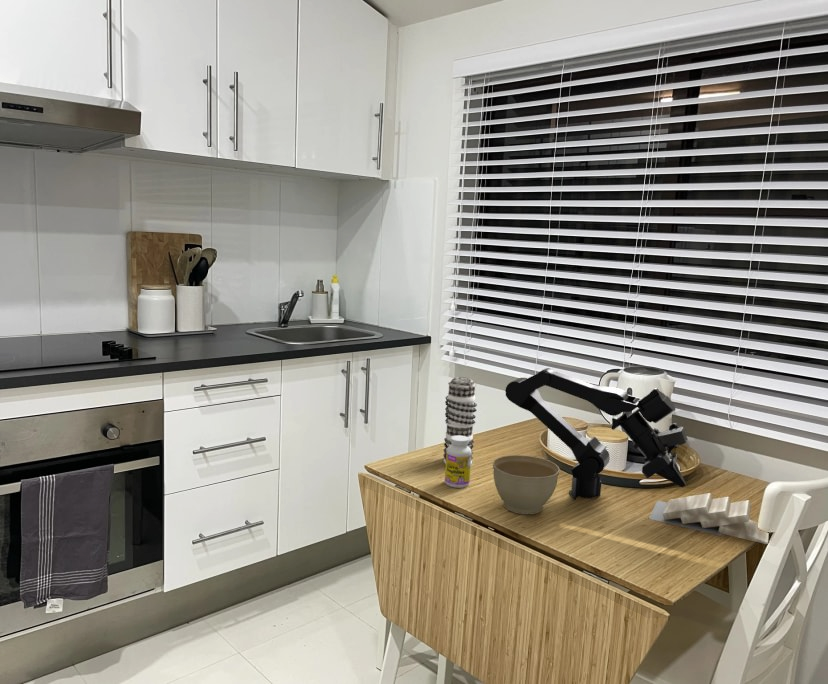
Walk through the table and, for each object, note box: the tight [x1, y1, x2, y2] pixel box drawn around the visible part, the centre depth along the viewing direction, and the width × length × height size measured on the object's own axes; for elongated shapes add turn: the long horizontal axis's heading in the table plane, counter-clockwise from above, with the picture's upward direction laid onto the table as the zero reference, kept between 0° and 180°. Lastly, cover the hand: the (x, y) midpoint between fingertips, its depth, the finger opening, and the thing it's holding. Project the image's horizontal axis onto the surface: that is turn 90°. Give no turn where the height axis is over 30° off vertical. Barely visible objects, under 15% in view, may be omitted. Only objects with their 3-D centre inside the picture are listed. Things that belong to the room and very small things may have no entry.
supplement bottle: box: [444, 435, 472, 489], centre depth 174 cm, size 7×7×13 cm
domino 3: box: [701, 499, 752, 528], centre depth 154 cm, size 2×10×10 cm
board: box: [648, 500, 723, 537], centre depth 158 cm, size 16×13×1 cm
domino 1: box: [662, 492, 714, 520], centre depth 158 cm, size 2×10×10 cm
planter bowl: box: [492, 454, 560, 515], centre depth 161 cm, size 16×16×11 cm
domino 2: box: [681, 496, 732, 524], centre depth 156 cm, size 2×10×10 cm
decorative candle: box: [442, 376, 478, 465], centre depth 190 cm, size 9×9×25 cm
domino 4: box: [718, 518, 770, 545], centre depth 152 cm, size 2×10×10 cm
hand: (684, 486), depth 158 cm, fingers closed
